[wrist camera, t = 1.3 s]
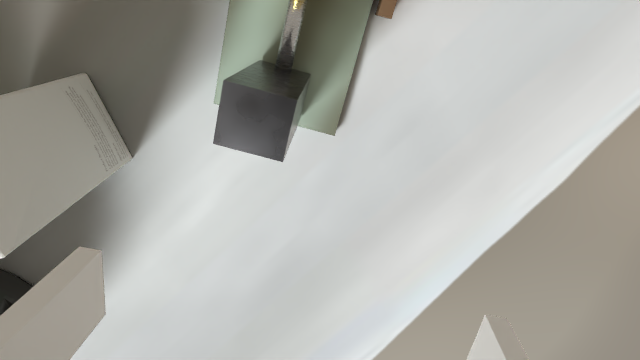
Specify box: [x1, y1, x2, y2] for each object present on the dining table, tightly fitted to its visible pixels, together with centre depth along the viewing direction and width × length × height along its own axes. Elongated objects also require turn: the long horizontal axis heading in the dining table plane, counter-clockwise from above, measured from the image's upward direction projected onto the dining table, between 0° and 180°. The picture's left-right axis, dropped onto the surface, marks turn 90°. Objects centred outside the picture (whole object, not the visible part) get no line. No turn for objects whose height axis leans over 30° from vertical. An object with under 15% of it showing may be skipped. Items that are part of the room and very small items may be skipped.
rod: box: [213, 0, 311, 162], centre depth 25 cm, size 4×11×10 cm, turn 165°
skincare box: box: [0, 73, 132, 259], centre depth 27 cm, size 8×7×16 cm
